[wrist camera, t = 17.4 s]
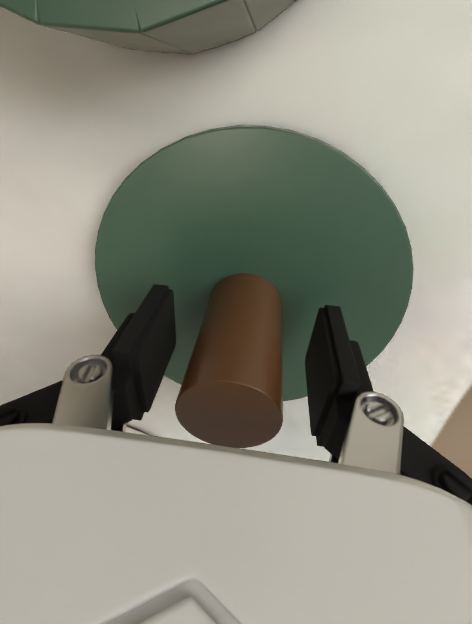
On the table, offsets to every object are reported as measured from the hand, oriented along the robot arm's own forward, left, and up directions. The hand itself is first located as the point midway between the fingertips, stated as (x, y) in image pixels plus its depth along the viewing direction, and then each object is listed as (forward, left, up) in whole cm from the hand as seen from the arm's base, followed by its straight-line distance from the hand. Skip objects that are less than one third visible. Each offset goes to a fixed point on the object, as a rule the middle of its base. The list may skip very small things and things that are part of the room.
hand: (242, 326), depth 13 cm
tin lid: (0, 0, -2) cm, 2 cm away
